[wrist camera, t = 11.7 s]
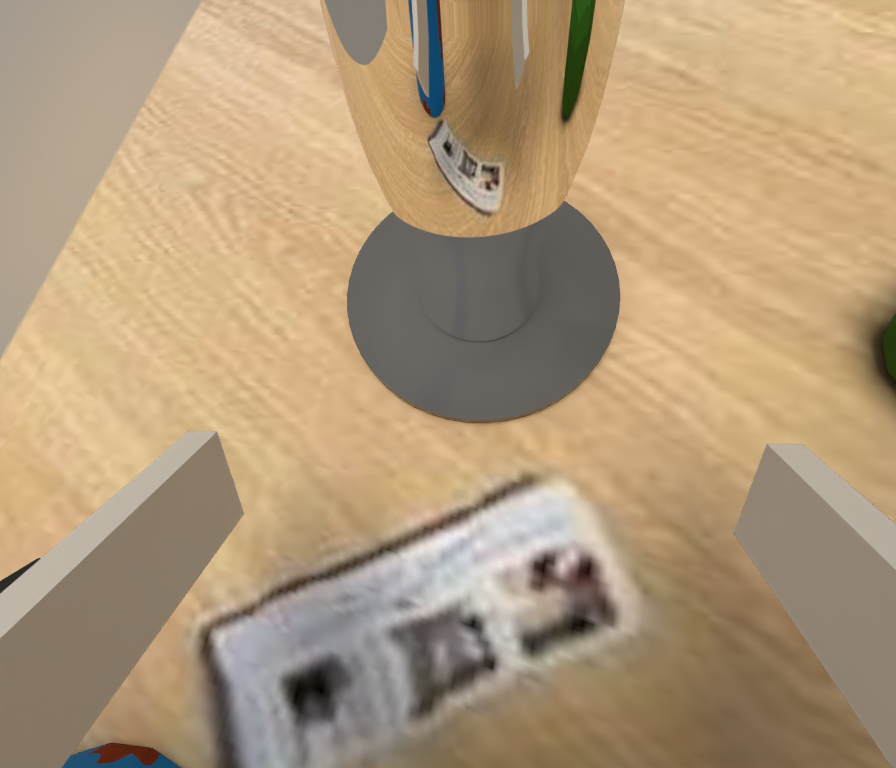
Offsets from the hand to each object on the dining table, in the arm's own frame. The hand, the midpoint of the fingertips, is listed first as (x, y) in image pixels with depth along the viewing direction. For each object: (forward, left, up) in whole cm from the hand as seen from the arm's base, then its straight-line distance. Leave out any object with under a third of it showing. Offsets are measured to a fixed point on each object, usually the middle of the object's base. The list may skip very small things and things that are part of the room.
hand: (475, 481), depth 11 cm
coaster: (-6, -9, -9) cm, 14 cm away
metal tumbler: (-6, -9, -8) cm, 13 cm away
